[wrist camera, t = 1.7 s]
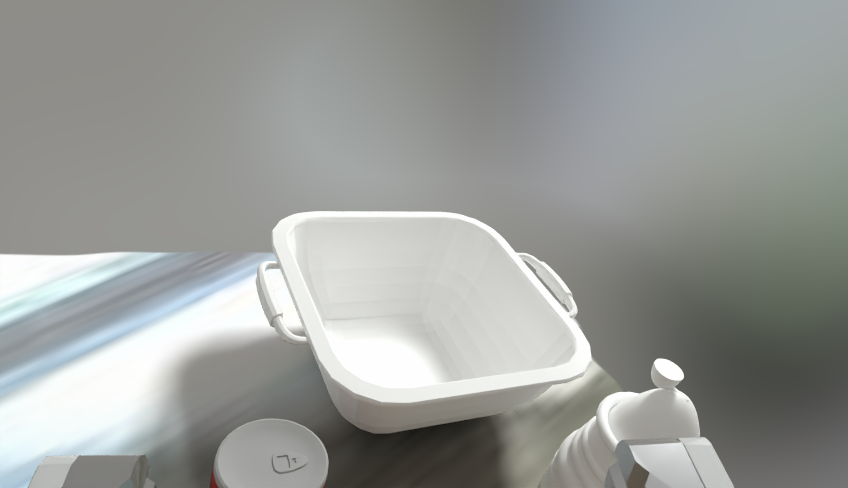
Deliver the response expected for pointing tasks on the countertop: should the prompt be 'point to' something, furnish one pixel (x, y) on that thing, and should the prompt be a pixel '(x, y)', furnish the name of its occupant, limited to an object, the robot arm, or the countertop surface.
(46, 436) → the countertop surface
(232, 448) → the canned food
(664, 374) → the honey pot
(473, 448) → the countertop surface
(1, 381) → the countertop surface
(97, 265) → the countertop surface
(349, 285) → the baking dish
